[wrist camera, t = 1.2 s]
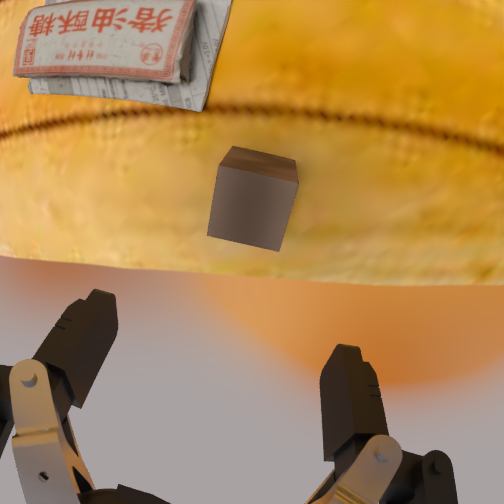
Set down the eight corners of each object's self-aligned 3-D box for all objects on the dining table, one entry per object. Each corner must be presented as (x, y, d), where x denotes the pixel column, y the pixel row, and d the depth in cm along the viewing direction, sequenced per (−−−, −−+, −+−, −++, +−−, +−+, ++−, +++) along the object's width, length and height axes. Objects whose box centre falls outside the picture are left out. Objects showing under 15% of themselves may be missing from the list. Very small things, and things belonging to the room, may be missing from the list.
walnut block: (294, 160, 24) (298, 183, 19) (279, 215, 27) (279, 251, 21) (232, 145, 24) (218, 165, 19) (221, 202, 26) (206, 235, 21)
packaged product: (3, 100, 18) (21, -6, 13) (36, 92, 22) (53, -1, 17) (190, 118, 19) (226, -21, 14) (206, 111, 23) (236, -3, 18)
